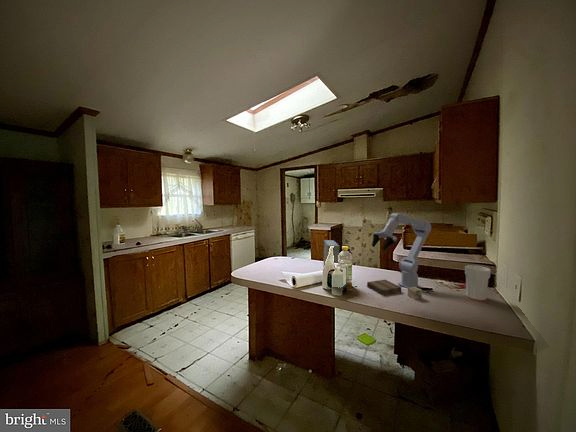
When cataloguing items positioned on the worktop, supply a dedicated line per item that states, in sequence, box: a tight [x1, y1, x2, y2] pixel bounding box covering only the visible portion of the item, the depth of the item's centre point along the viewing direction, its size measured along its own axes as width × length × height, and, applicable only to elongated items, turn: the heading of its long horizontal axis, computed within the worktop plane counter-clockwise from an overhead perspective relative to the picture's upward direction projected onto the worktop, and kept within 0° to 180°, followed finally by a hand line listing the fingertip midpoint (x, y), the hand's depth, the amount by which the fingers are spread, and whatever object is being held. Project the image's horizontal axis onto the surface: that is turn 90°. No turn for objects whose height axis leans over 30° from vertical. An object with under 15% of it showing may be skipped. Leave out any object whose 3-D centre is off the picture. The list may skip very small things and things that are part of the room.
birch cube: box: [407, 287, 423, 300], centre depth 133 cm, size 5×5×5 cm
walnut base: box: [366, 279, 402, 296], centre depth 145 cm, size 14×14×3 cm
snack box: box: [322, 239, 340, 268], centre depth 166 cm, size 22×9×26 cm, turn 179°
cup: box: [464, 264, 492, 302], centre depth 131 cm, size 11×11×17 cm
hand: (378, 247), depth 136 cm, fingers open, 7 cm apart
